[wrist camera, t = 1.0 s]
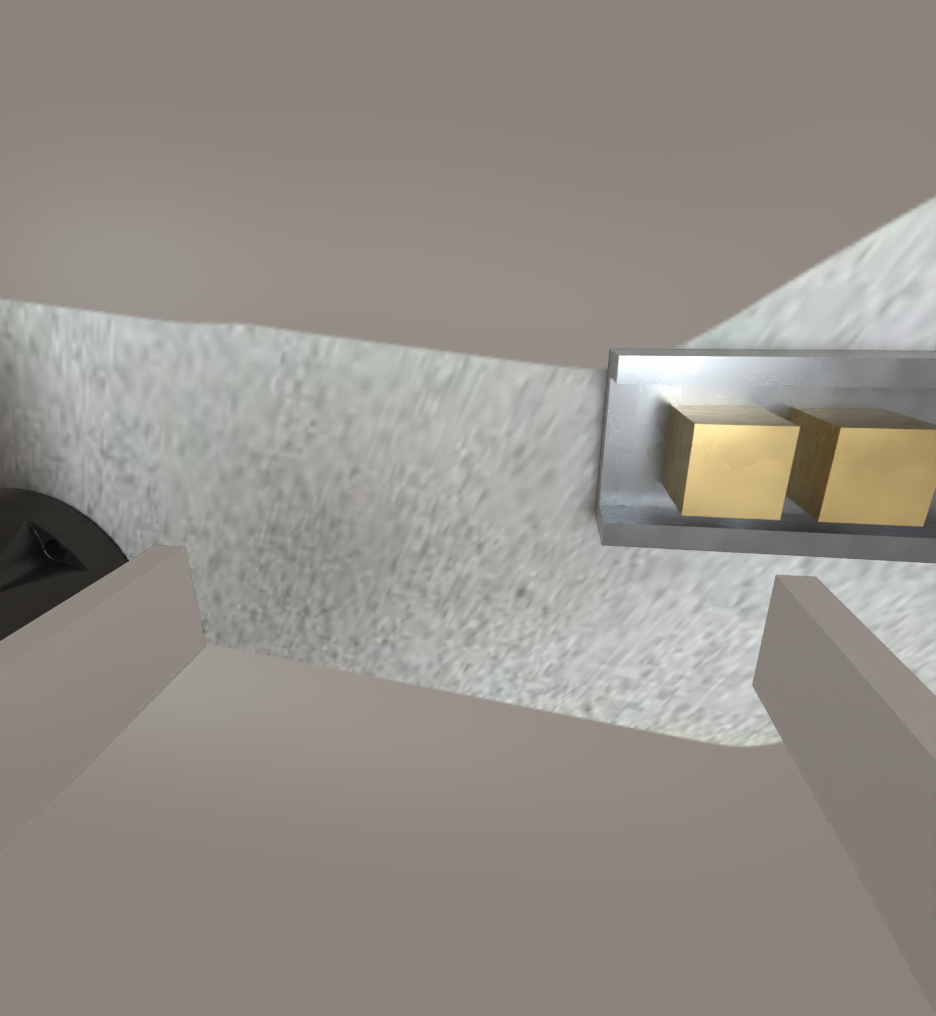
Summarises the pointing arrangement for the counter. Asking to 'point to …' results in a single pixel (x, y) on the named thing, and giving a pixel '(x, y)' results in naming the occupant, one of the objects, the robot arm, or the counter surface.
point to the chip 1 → (728, 461)
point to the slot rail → (749, 383)
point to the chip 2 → (863, 466)
